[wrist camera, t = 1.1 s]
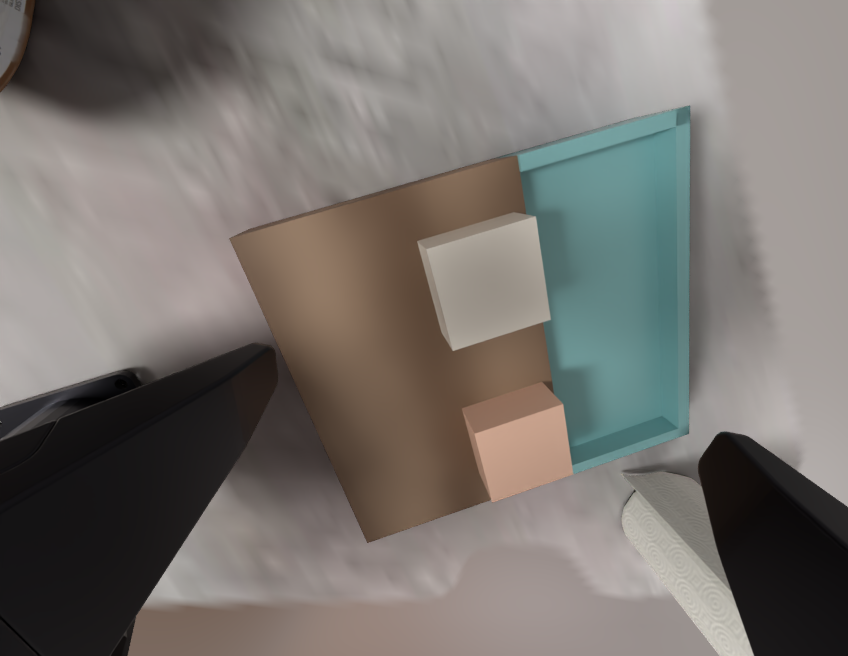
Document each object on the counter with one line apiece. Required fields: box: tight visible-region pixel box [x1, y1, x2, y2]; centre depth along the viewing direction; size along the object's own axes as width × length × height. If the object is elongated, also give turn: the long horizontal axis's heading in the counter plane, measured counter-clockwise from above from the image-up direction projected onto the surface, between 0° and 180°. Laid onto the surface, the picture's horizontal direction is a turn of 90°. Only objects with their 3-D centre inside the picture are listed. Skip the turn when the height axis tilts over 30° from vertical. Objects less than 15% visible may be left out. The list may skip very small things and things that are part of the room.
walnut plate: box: [229, 155, 554, 543], centre depth 19 cm, size 11×16×3 cm
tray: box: [494, 106, 690, 474], centre depth 19 cm, size 7×16×3 cm, turn 15°
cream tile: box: [417, 212, 551, 351], centre depth 15 cm, size 4×4×2 cm
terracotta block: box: [462, 382, 573, 503], centre depth 18 cm, size 4×4×2 cm
